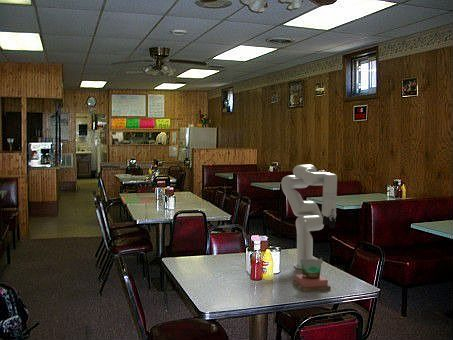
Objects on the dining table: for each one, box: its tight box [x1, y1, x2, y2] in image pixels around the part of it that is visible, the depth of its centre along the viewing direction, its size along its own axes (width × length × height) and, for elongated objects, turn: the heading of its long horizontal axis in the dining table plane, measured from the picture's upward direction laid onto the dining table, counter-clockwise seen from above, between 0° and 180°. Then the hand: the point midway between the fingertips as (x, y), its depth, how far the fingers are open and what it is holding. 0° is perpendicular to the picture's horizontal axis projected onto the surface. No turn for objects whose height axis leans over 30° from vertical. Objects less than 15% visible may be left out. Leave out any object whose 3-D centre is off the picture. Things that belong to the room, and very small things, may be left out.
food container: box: [300, 257, 323, 279], centre depth 256 cm, size 12×6×10 cm, turn 106°
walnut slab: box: [292, 279, 332, 293], centre depth 259 cm, size 15×15×3 cm
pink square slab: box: [294, 273, 329, 287], centre depth 259 cm, size 13×13×3 cm
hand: (328, 226), depth 273 cm, fingers open, 9 cm apart
